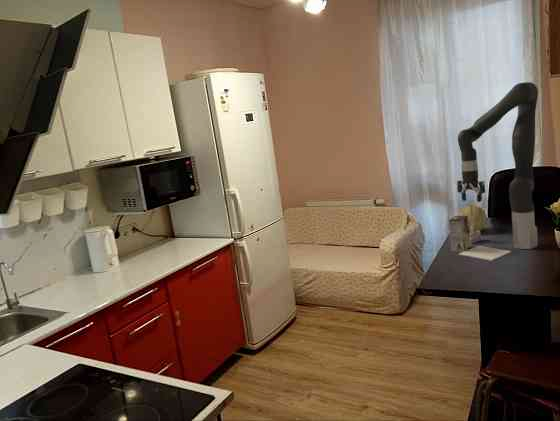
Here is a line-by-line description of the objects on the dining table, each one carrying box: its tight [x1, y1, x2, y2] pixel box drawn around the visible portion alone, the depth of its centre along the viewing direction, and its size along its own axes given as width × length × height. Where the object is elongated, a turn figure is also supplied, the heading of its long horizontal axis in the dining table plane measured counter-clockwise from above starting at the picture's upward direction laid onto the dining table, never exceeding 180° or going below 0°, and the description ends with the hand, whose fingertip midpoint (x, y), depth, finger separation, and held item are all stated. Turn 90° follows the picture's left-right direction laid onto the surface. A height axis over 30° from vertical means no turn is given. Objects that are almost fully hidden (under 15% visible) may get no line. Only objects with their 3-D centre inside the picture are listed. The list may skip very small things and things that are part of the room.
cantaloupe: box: [458, 204, 488, 233], centre depth 250 cm, size 15×15×15 cm
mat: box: [458, 245, 512, 261], centre depth 213 cm, size 17×15×1 cm
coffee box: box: [448, 215, 471, 253], centre depth 223 cm, size 9×6×16 cm
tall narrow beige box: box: [469, 217, 482, 245], centre depth 232 cm, size 2×8×13 cm, turn 122°
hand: (471, 201), depth 230 cm, fingers open, 8 cm apart
